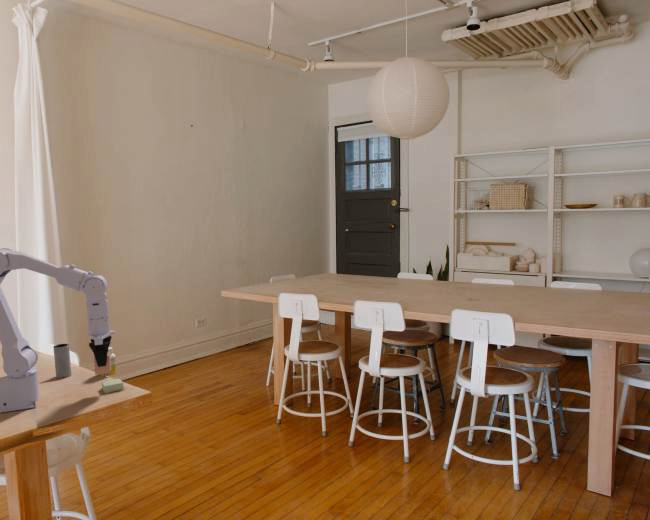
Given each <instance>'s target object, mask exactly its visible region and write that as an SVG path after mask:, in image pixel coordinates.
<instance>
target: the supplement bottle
mask: <svg viewBox="0 0 650 520" xmlns="http://www.w3.org/2000/svg"><path fill="white" fill-rule="evenodd" d="M108 352H110V361H111V372H110V373H105V374H98V375H99V376H100V377H108V376H113V375H115V374H117V373H118V369H117V359H116V357H117V356H116V354H115V353H113V352H114V350H113V347H111V346H109V348H108Z"/></svg>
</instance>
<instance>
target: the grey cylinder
mask: <svg viewBox="0 0 650 520" xmlns="http://www.w3.org/2000/svg"><path fill="white" fill-rule="evenodd" d="M70 354H71V353H70V345H69V343H60V344H55V345H54V346H53V356H54V367H55V378H58V379H62V378H63V377H64V378H69V377H71V376H72V368H71V367H72V366H71V357H70ZM64 378H63V379H64Z"/></svg>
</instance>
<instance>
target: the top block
mask: <svg viewBox="0 0 650 520" xmlns="http://www.w3.org/2000/svg"><path fill="white" fill-rule="evenodd" d="M123 387H124V382H123V381H122V380H121V378H115V379H110V380H104V381H101V388H102V389H103V390H104V392H105V393H107V394H109V393H108V392H113V391H118V390H123ZM123 391H124V390H123ZM118 392H119V391H118ZM113 393H114V392H113Z"/></svg>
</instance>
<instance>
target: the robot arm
mask: <svg viewBox="0 0 650 520" xmlns="http://www.w3.org/2000/svg"><path fill="white" fill-rule="evenodd" d="M21 269H26V270H29V271H31V272H34V273H39V274H42V275H45V276H48V277H52V278H54V279H55V281H56V283H57V284H58V285H61V286H64V287H66V288H69V289H72V290H75V291H79V292H82V293H84V295H85V297H86V298H85V299H86V302H85V303H86V304H85V305H86V315H87V317H86V318H87V327H88V338H90V342H88V347H89V348H90V350H91V352H93V356H95V359H96V362H97V365H98V367H101V366H106V363H107V353H108V348H109V347H110V346H111V345H110V344H111V340H112V337H113V336H112V335H115V334H116V330H111V321H110V320H111V319H110V310H109V300H108V294H107V293H108V292H107V290H108V286H109V284H108V280H107V279H106V278H105V277H104V276H103V275H101V274H99V273H98V274H97V273H96V274H93V271H91V270H89V271H85V270H82V269H79V268H77V267H76V265H75V264H73V263H72V264H70V265H68V264H64V265H61V266H58V265H55V264H53V263H50V262H48V261H45V260H43V259H40V258H38V257H35V256H32V255H30V254H27V253H25V252H22V251H17V250H13V249H10V248H6V247H5V248H4V247H3V248H0V285H1V284H2V283H3V281H4V280H5V278H6V276H7V275H8V274H9V273H10V272H11V271H13V270H21ZM0 344H1V354H0V355H1V357H2V360H3V363H2V364H3V365H2V369H3V371H4V373H5V374H6V376H5V375H4V376H0V413H6V412H7V413H8V412H13V411H19V410H20V411H21V410H26V409H27V410H28V409H34V408H37V407H36V406H37V405H36V402H37V401H39V399H40V392H39V390H40V389H39V381H38V371H37V368H36V366H35V365H36V364H37V362H38V359H39V357H38V356H39V355H38V353H37V351H36V349H34V348H32V346H31V345H30V344H29V341H28V340H26V339H25V338H24V337H23V335H22V333H21V331H20V329H19V326H18V323H17V320H16V318H15V317H14V315H13V313H12V310H11V308H10V306H9V304H8V301H7V298H6V296H5V294H4V292H3V289H2V287H1V286H0Z"/></svg>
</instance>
